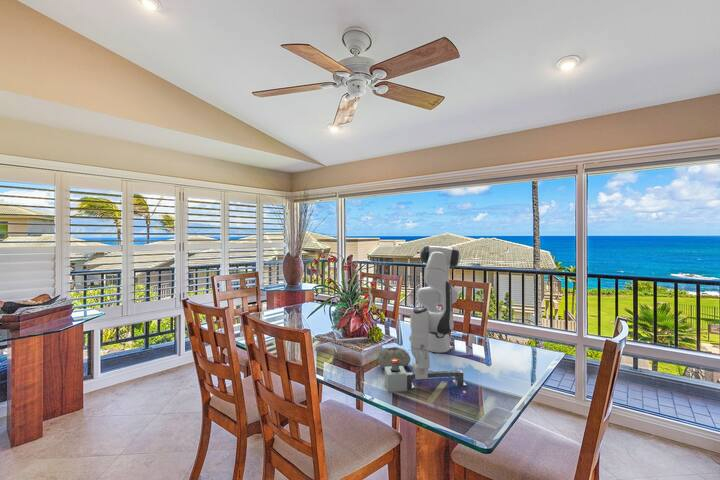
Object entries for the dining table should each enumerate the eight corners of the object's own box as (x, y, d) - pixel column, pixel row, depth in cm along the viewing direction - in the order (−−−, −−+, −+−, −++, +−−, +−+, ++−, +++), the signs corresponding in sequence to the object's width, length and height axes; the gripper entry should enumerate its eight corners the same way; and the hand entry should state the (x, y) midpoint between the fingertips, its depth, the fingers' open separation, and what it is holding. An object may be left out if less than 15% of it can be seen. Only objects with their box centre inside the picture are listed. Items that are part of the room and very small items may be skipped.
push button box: (384, 383, 158) (384, 366, 157) (402, 382, 158) (402, 365, 158) (387, 392, 149) (387, 374, 148) (407, 391, 149) (406, 373, 149)
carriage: (412, 374, 157) (412, 362, 156) (425, 374, 157) (424, 361, 157) (415, 379, 152) (415, 366, 151) (427, 378, 152) (427, 365, 152)
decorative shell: (382, 358, 188) (382, 341, 188) (413, 362, 182) (413, 345, 182) (373, 371, 171) (373, 352, 171) (406, 376, 165) (406, 356, 165)
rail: (401, 383, 157) (401, 371, 157) (461, 380, 159) (461, 368, 159) (404, 389, 151) (404, 376, 151) (466, 386, 153) (466, 373, 153)
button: (390, 372, 155) (390, 358, 155) (398, 372, 156) (398, 358, 155) (391, 376, 151) (391, 362, 151) (400, 376, 151) (400, 361, 151)
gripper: (433, 349, 144) (433, 380, 144) (420, 335, 164) (421, 362, 165) (419, 350, 143) (419, 381, 144) (408, 335, 164) (408, 362, 164)
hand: (420, 370), depth 154 cm, fingers closed on carriage, 5 cm apart
